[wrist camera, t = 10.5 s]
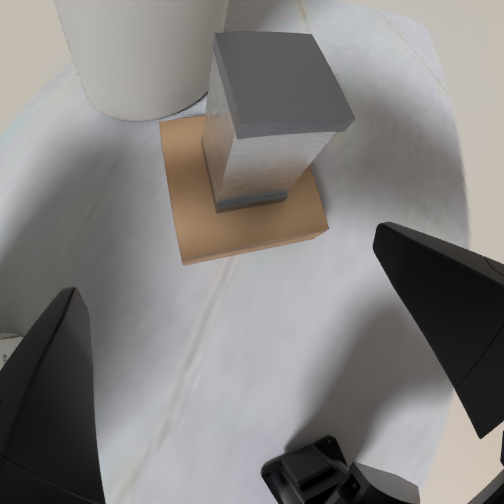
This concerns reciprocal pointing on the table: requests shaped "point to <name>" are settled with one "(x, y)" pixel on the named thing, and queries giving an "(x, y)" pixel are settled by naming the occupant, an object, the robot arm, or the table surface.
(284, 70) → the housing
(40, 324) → the robot arm
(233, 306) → the table surface
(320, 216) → the stand
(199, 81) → the cylinder vase
